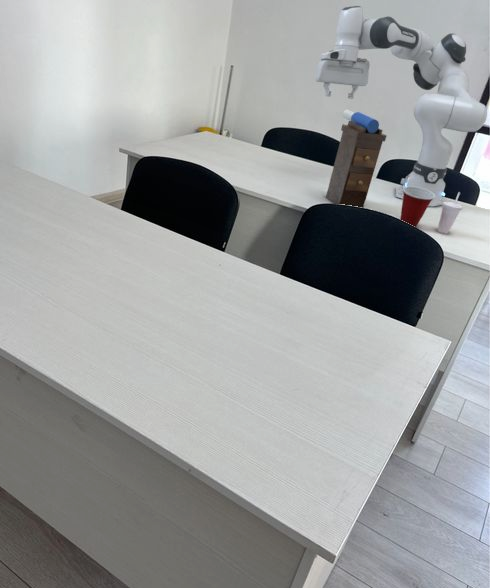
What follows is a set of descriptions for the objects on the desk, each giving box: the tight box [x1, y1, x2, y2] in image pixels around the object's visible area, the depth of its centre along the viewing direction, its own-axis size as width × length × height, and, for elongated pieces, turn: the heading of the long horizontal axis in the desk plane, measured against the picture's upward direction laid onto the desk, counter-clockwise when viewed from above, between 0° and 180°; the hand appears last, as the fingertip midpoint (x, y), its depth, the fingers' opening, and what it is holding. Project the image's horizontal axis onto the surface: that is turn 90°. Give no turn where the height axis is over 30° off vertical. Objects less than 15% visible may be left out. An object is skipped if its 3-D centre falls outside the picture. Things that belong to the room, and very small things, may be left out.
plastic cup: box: [399, 186, 435, 228], centre depth 199 cm, size 11×11×12 cm
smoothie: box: [436, 191, 463, 235], centre depth 198 cm, size 6×6×14 cm
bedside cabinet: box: [325, 120, 388, 208], centre depth 206 cm, size 14×11×28 cm
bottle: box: [342, 109, 380, 133], centre depth 204 cm, size 20×4×4 cm, turn 15°
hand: (339, 97), depth 217 cm, fingers open, 8 cm apart
